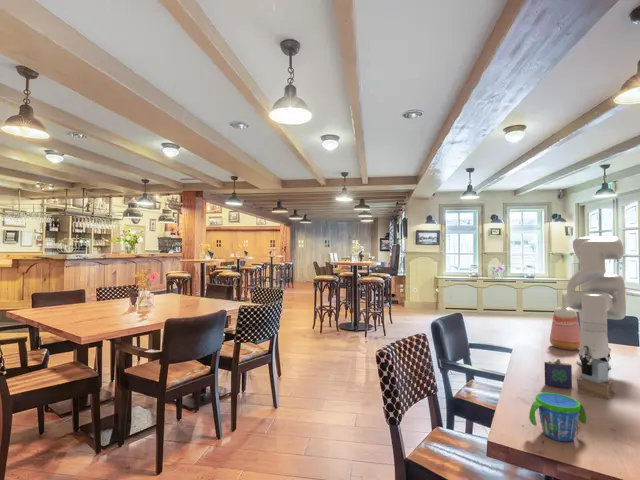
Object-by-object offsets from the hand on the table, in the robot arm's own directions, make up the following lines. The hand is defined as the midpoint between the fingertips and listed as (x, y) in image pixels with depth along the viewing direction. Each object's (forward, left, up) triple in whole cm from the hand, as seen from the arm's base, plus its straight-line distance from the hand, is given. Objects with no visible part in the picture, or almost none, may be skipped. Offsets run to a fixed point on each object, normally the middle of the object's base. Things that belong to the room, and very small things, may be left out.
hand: (595, 373), depth 133 cm
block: (0, 0, -7) cm, 7 cm away
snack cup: (+45, +16, -7) cm, 48 cm away
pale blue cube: (0, 0, -2) cm, 2 cm away
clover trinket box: (+7, -9, -7) cm, 14 cm away
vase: (-54, -46, -7) cm, 71 cm away
